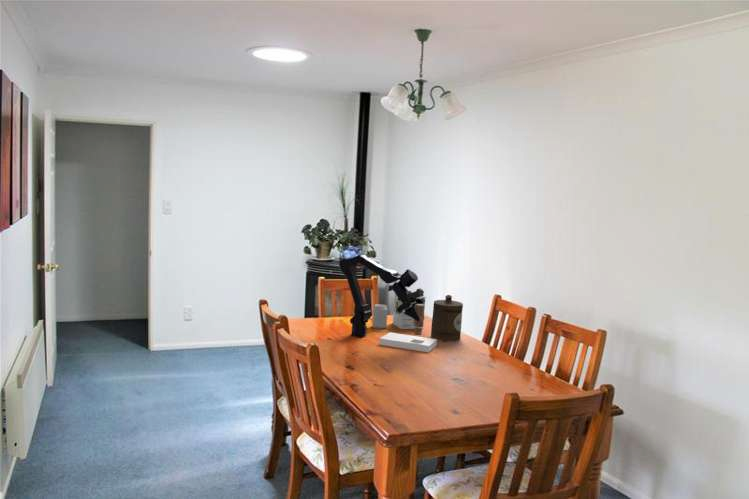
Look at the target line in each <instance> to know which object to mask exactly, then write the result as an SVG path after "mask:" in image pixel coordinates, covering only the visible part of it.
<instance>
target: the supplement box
mask: <svg viewBox="0 0 749 499" xmlns="http://www.w3.org/2000/svg"><path fill="white" fill-rule="evenodd" d="M418 298H424V300H425V302H424V303H423V305H425V306H426V296H425V295H424V296H421V297H418ZM418 298H417V299H418ZM397 299H398V297H397V295H396V294H395V293H394V302H393V316H392V324H393V325H395V326H396V327H397V328H399V329H400V330H415V327H413V326H414V319H413V318H411V317H410V316H408V315H406V314H403V313H404V312H405V311H404V310H405V309H404V310H403V311H402V313H400V314H399V313H398V312H397V308H398V307H399V306H400V305H401V304H402V302H401V301H398V300H397ZM424 311H425V309H424ZM423 329H424V327H423V328H422V330H423Z"/></svg>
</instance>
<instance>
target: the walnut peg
mask: <svg viewBox="0 0 749 499" xmlns="http://www.w3.org/2000/svg"><path fill="white" fill-rule="evenodd" d="M425 306H426V304H425V305H423V304H415V312H416V313H417V315H418V317H419V319H420V321H417V320H415V319H414V326H413V327H415V329H414V330H413V333H414V336H422V332H423V329H424V327H425V326H424V321H425V319H424V318H425V310H424V309H425V308H426V307H425ZM422 328H423V329H422Z"/></svg>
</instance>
